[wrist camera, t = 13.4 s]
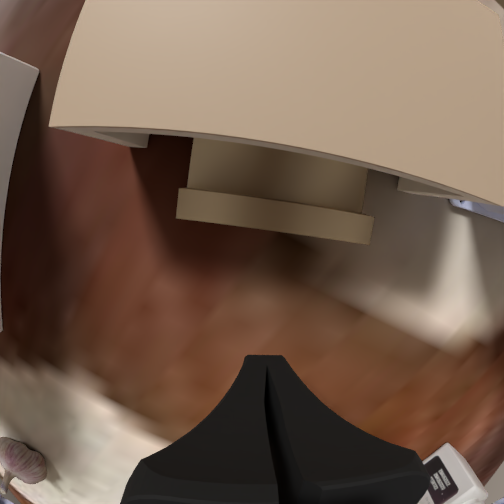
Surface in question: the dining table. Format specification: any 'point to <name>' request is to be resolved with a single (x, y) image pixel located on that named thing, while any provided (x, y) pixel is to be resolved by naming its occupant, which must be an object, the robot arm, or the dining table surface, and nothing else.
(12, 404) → the dining table surface
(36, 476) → the garlic bulb
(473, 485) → the container
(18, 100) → the gable box
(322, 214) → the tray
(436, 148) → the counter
